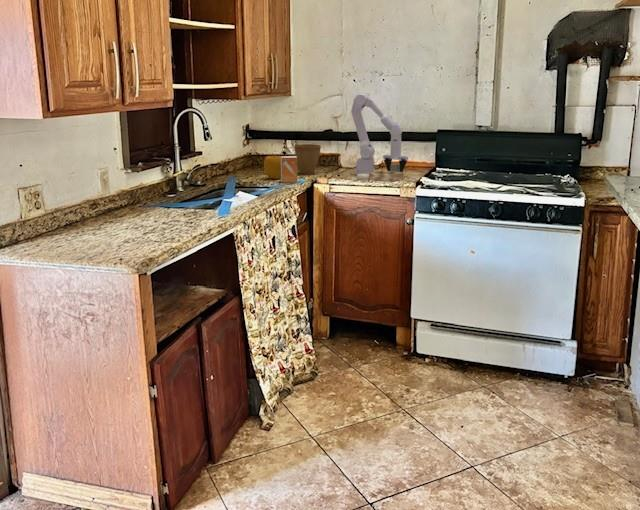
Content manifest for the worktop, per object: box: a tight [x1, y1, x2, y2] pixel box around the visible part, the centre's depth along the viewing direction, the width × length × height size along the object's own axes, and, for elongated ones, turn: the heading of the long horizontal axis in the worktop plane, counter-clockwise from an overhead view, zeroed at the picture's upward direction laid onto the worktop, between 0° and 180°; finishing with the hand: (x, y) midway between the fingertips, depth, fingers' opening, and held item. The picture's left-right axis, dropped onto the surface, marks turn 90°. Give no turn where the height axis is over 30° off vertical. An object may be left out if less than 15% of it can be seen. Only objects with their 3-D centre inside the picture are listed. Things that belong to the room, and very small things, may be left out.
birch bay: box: [368, 170, 405, 183], centre depth 335 cm, size 14×12×4 cm
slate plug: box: [390, 162, 400, 172], centre depth 348 cm, size 4×4×7 cm
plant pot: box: [294, 143, 322, 175], centre depth 357 cm, size 15×15×16 cm
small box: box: [280, 155, 298, 184], centre depth 328 cm, size 8×6×13 cm
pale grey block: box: [356, 173, 370, 181], centre depth 336 cm, size 6×6×3 cm
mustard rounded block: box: [263, 154, 282, 180], centre depth 338 cm, size 11×11×13 cm
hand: (395, 172), depth 349 cm, fingers open, 7 cm apart
